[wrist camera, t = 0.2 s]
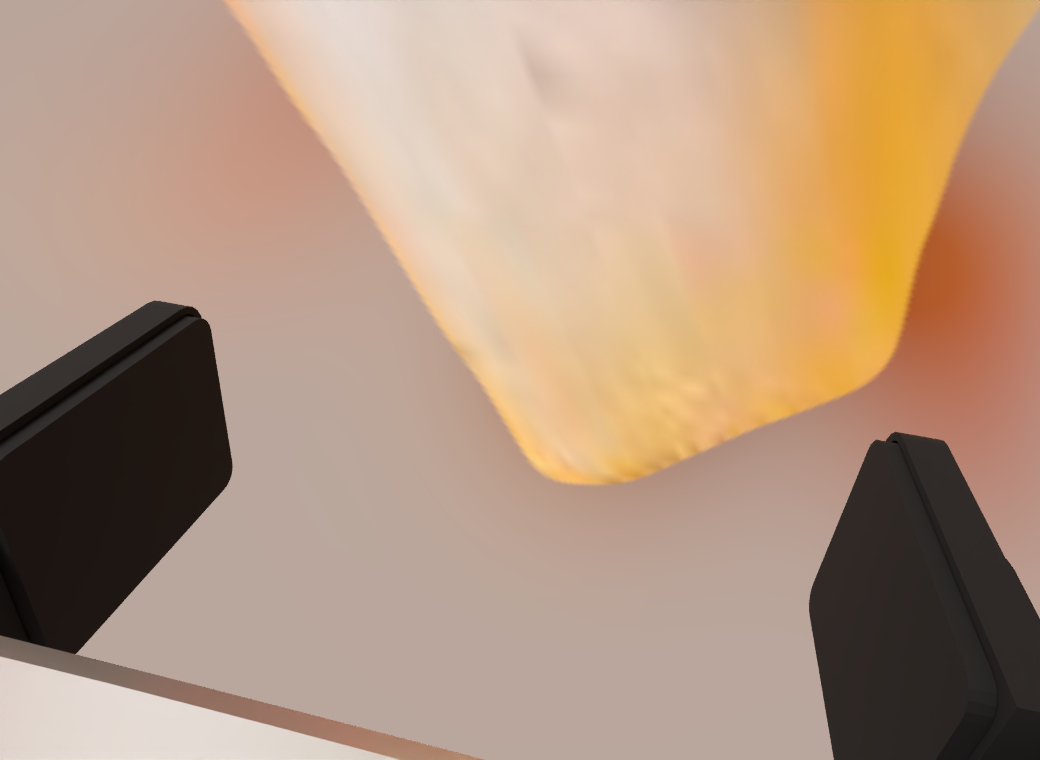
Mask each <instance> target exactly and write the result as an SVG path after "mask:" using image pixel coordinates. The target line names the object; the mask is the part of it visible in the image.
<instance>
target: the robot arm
mask: <svg viewBox="0 0 1040 760" xmlns="http://www.w3.org/2000/svg"><path fill="white" fill-rule="evenodd" d="M231 474H232V458H231V452H230V446H229V439H228V433H227V427H226V421H225V415H224V408H223V402H222V396H221V390H220V383H219V377H218V371H217V365H216V359H215V352H214V346H213V340H212V334H211V329H210V325H209V324H208V322H207V321H206V320H204V319H202V318H201V315H200V314H199V312H198V310H196V309H195V308H193V307H189V306H184V305H178V304H172V303H167V302H161V301H152V302H150V303H147V304H146V305H144V306H143V307H141V308H139V309H138V310H136V311H134V312H133V313H131V314H130V315H128V316H126V317H125V318H123V319H122V320H120V321H118V322H117V323H115V324H114V325H112V326H111V327H109V328H107V329H105V330H104V331H102V332H101V333H99V334H97V335H96V336H94V337H93V338H91V339H90V340H88V341H86V342H85V343H83V344H81V345H80V346H78V347H77V348H75V349H73V350H72V351H70V352H68V353H67V354H65V355H64V356H62V357H60V358H59V359H57V360H56V361H54V362H52V363H51V364H49V365H47V366H46V367H44V368H43V369H41V370H39V371H38V372H36V373H35V374H33V375H31V376H30V377H28V378H27V379H25V380H24V381H22V382H20V383H18V384H17V385H15V386H14V387H12V388H10V389H9V390H7V391H6V392H4V393H2V394H1V395H0V760H483V759H480V758H476V757H472V756H468V755H465V754H461V753H457V752H453V751H449V750H446V749H442V748H438V747H433V746H430V745H426V744H422V743H419V742H415V741H411V740H407V739H403V738H399V737H395V736H392V735H388V734H384V733H380V732H376V731H372V730H368V729H364V728H361V727H357V726H353V725H349V724H345V723H341V722H337V721H334V720H330V719H326V718H322V717H318V716H314V715H311V714H307V713H303V712H299V711H295V710H291V709H287V708H283V707H279V706H276V705H272V704H268V703H264V702H260V701H256V700H252V699H248V698H245V697H241V696H237V695H233V694H229V693H225V692H221V691H217V690H214V689H210V688H206V687H202V686H198V685H194V684H190V683H186V682H182V681H178V680H174V679H170V678H166V677H163V676H159V675H155V674H151V673H147V672H143V671H139V670H135V669H131V668H127V667H123V666H119V665H115V664H111V663H107V662H103V661H99V660H95V659H91V658H87V657H83V656H79V655H75V654H76V653H77V652H78V651H79V650H80V649H81V648H82V647H83V646H84V644H85V643H86V642H87V641H88V640H89V639H90V638H91V637H92V636H93V634H94V633H95V632H96V631H97V630H98V629H99V628H100V627H101V625H102V624H103V623H104V622H105V621H106V620H107V619H108V618H109V617H110V615H111V614H112V613H113V612H114V611H115V610H116V609H117V608H118V606H120V604H121V603H122V602H123V601H124V600H125V599H126V598H127V597H128V595H129V594H130V593H131V592H132V591H133V590H134V589H135V588H136V587H137V585H138V584H139V583H140V582H141V581H142V580H143V579H144V578H145V577H146V576H147V574H148V573H149V572H150V571H151V570H152V569H153V568H154V567H155V566H156V564H157V563H158V562H159V561H160V560H161V559H162V558H163V557H164V556H165V554H166V553H167V552H168V551H169V550H170V549H171V548H172V547H173V546H174V544H175V543H176V542H177V541H178V540H179V539H180V538H181V537H182V536H183V534H184V533H185V532H186V531H187V530H188V529H189V528H190V526H192V524H193V523H194V522H195V521H196V520H197V519H198V518H199V517H200V516H201V514H202V513H203V512H204V511H205V510H206V509H207V508H208V507H209V505H210V504H211V503H212V502H213V501H214V500H215V499H216V498H217V497H218V496H219V494H220V493H221V492H222V491H223V490H224V488H225V487H226V486H227V484H228V482H229V480H230V477H231ZM809 613H810V620H811V626H812V632H813V637H814V644H815V650H816V655H817V661H818V667H819V673H820V679H821V685H822V691H823V697H824V702H825V709H826V715H827V721H828V727H829V733H830V739H831V744H832V751H833V757H834V760H1040V619H1039V617H1038V615H1037V613H1036V611H1035V609H1034V607H1033V605H1032V603H1031V601H1030V599H1029V597H1028V595H1027V593H1026V591H1025V590H1024V588H1023V586H1022V584H1021V582H1020V580H1019V578H1018V576H1017V574H1016V572H1015V570H1014V569H1013V567H1012V566H1011V564H1010V563H1009V562H1008V560H1007V559H1005V557H1004V555H1003V553H1002V551H1001V549H1000V547H999V545H998V543H997V541H996V539H995V537H994V535H993V533H992V531H991V529H990V527H989V526H988V523H987V522H986V519H985V518H984V516H983V514H982V512H981V510H980V508H979V506H978V504H977V502H976V500H975V498H974V496H973V494H972V492H971V491H970V488H969V487H968V485H967V482H966V480H965V478H964V477H963V475H962V473H961V471H960V469H959V467H958V465H957V463H956V461H955V459H954V457H953V455H952V453H951V451H950V449H949V447H948V445H947V444H946V443H945V442H944V441H942V440H938V439H932V438H926V437H921V436H916V435H909V434H904V433H898V432H894V433H892V434H891V435H890V436H889V437H888V438H887V440H886V441H880V440H875V441H874V442H873V443H872V444H871V446H870V447H869V450H868V452H867V454H866V457H865V459H864V462H863V464H862V466H861V469H860V471H859V474H858V476H857V479H856V481H855V483H854V486H853V488H852V491H851V493H850V496H849V498H848V500H847V503H846V506H845V508H844V510H843V513H842V515H841V518H840V520H839V522H838V525H837V527H836V530H835V532H834V535H833V537H832V540H831V542H830V544H829V547H828V549H827V552H826V554H825V557H824V559H823V562H822V564H821V566H820V569H819V571H818V574H817V576H816V578H815V581H814V583H813V586H812V589H811V594H810V601H809Z"/></svg>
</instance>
